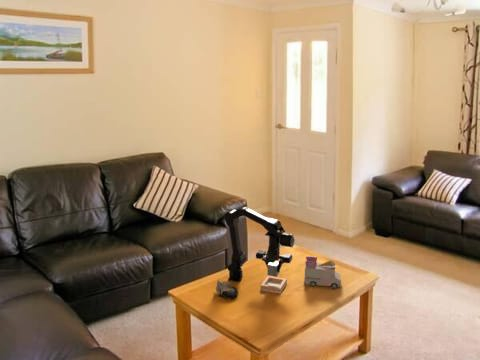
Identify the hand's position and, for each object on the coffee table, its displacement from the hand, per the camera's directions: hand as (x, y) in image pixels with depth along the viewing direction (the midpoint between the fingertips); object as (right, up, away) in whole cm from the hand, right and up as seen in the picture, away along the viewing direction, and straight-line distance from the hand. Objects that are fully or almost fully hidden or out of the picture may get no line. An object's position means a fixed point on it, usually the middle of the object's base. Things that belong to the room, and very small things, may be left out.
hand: (273, 271), depth 249 cm
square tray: (0, -9, +2) cm, 9 cm away
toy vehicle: (+26, -9, +4) cm, 28 cm away
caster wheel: (-24, -11, -6) cm, 28 cm away
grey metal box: (0, -1, 0) cm, 1 cm away
